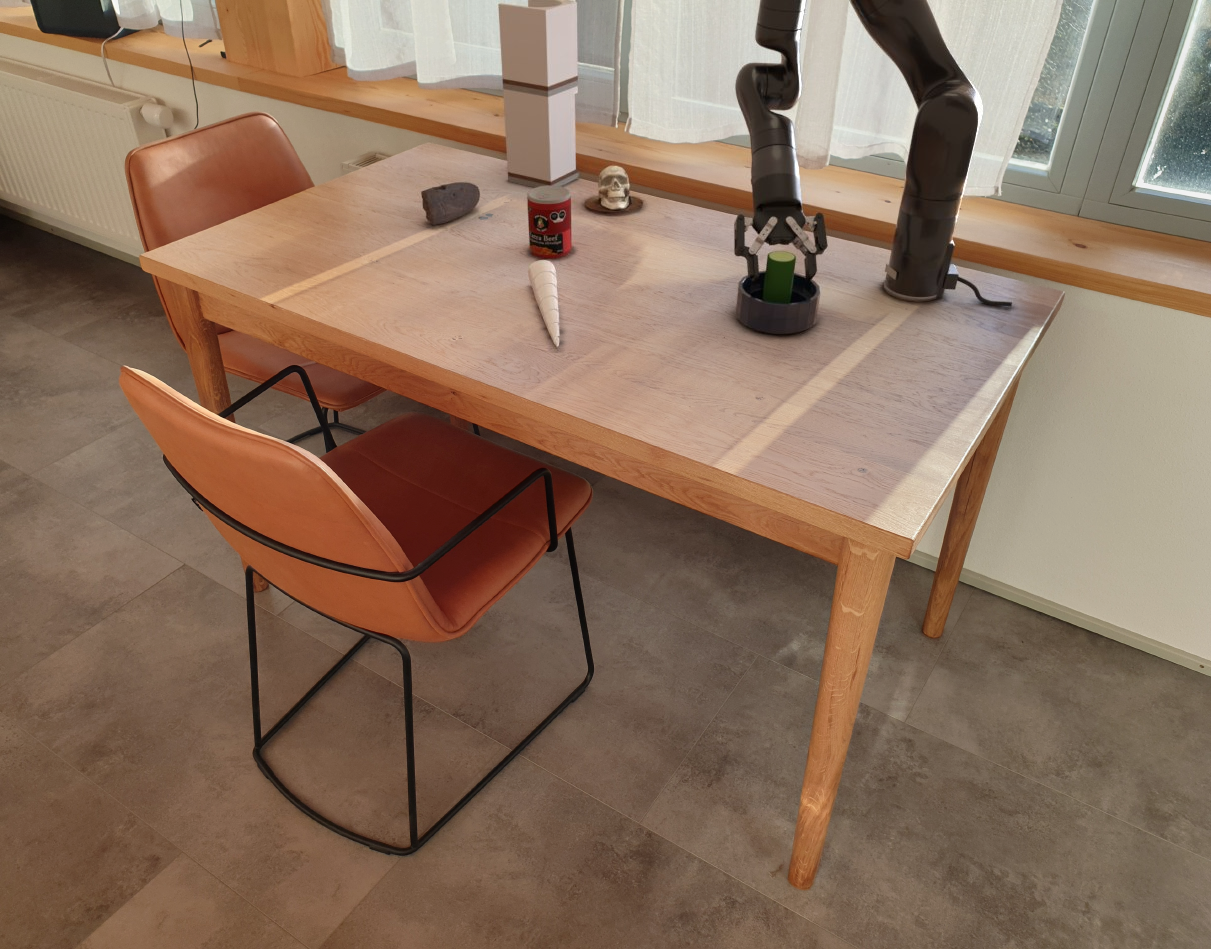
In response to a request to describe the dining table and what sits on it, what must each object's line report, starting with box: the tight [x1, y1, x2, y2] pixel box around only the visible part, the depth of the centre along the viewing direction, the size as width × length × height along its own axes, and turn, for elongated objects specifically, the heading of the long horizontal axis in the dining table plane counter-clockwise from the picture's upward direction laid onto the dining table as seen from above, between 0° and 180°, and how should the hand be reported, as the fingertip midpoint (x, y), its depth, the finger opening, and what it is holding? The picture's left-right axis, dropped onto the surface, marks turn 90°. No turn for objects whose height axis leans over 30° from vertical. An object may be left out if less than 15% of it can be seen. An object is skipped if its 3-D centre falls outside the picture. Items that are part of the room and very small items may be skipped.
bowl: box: [735, 270, 822, 335], centre depth 150 cm, size 13×13×6 cm
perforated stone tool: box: [420, 181, 481, 226], centre depth 184 cm, size 15×5×7 cm, turn 139°
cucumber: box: [762, 250, 797, 304], centre depth 148 cm, size 4×4×10 cm
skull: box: [584, 165, 644, 213], centre depth 191 cm, size 12×10×10 cm
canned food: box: [526, 186, 573, 260], centre depth 170 cm, size 8×8×11 cm
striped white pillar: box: [497, 0, 580, 188], centre depth 195 cm, size 11×11×35 cm
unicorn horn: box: [527, 259, 560, 348], centre depth 150 cm, size 5×24×5 cm, turn 5°
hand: (783, 279), depth 146 cm, fingers open, 8 cm apart
